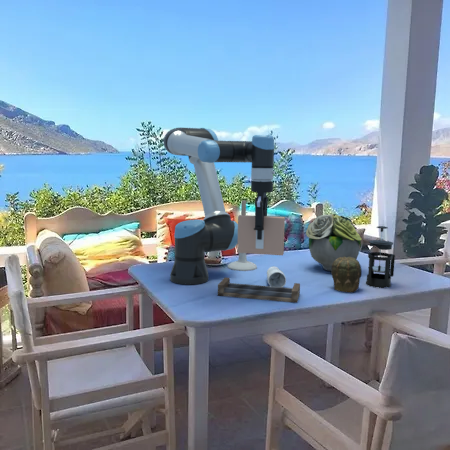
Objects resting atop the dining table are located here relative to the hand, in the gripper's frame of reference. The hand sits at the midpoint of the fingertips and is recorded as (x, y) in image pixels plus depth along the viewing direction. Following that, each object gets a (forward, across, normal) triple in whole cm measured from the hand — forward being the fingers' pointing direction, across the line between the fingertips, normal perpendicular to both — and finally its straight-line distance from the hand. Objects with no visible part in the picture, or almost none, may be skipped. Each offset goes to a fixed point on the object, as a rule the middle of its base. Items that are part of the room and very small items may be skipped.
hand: (260, 247), depth 169 cm
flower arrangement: (+18, +46, -25) cm, 55 cm away
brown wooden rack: (+17, 0, 0) cm, 17 cm away
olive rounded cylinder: (+18, +17, -30) cm, 39 cm away
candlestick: (+18, +38, +14) cm, 44 cm away
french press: (+18, +27, -43) cm, 54 cm away
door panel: (+2, 0, 0) cm, 2 cm away
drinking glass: (+15, +23, -2) cm, 27 cm away
